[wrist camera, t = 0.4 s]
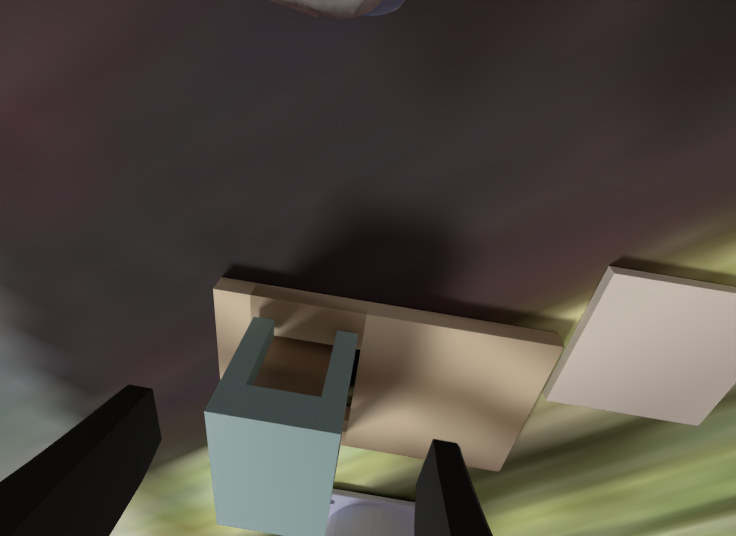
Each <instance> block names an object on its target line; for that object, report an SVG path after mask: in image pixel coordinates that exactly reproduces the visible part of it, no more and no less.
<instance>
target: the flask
mask: <svg viewBox="0 0 736 536" xmlns="http://www.w3.org/2000/svg"><path fill="white" fill-rule="evenodd" d="M270 1H273V2H276V3H278V4H281V5H284V6H287V7H289V8H292V9H295V10H298V11H300V12H303V13H306V14H308V15H311V16H313V17H316V16H321V15H322V16H326V17H331V18H335V19H344V18H354V17H357V16H362V15H369V16H377V15H383V14H387V13H390V12H393V11H395V10H397V9H398V8H400V6H401V5H402V4H403V3H404V2H405V0H270Z"/></svg>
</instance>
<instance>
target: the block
mask: <svg viewBox="0 0 736 536" xmlns="http://www.w3.org/2000/svg"><path fill="white" fill-rule="evenodd" d="M333 346H334V345H329V344H323V343H317V342H311V341H305V340H299V339H293V338H287V337H281V336H275V335H274V338H273V340H272V342H271V345H270V347H269V349H268V352H267V354H266V356H265V359H264V361H263V363H262V366H261V368H260V370H259V373H258V375H257V377H256V380H255V382H254V384H253V386H258V387H264V388H270V389H276V390H282V391H288V392H294V393H300V394H306V395H311V396H317V397H321V396H322V392H323V388H324V384H325V380H326V375H327V371H328V367H329V363H330V359H331V354H332V350H333Z"/></svg>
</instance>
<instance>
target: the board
mask: <svg viewBox="0 0 736 536" xmlns="http://www.w3.org/2000/svg"><path fill="white" fill-rule="evenodd" d="M213 293H214V305H215V318H216V331H217V344H218V357H219V369H220V380H221V378H222V376H223V374H224V373H225V371H226V369H227V367H228V365H229V363H230V361H231V359H232V357H233V355H234V353H235V351H236V349H237V348H238V346H239V344H240V342H241V340H242V338H243V336H244V334H245V332H246V330H247V328H248V326H249V325H250V323H251V321H252V319H253V317H260V318H266V319H272V320H275V321H274V335H275V336H281V337H287V338H293V339H299V340H305V341H311V342H317V343H323V344H329V345H334V342H335V338H336V334H337V330H338V331H344V332H350V333H356V334H358V338H357V344H356V349H359V350H360V356H359V362H358V368H357V374H356V380H355V386H354V392H353V397H352V403H351V407H348V406H346V409H345V414H344V420H343V427H342V428H343V431H342V437H341V443H340V445H344V446H350V447H356V448H361V449H367V450H373V451H379V452H385V453H391V454H397V455H403V456H409V457H415V458H421V459H426V456H427V454H428V451H429V448H430V446H431V443H432V440H433V439H437V440H443V441H449V442H454V443H457V444H458V445H459V446H460V449H461V452H462V455H463V458H464V461H465V464H466V466H468V467H474V468H480V469H486V470H492V471H498V472H499V471H500V469H501V467H502V465H503V463H504V462H505V460H506V458H507V456H508V454H509V452H510V450H511V448H512V446H513V444H514V442H515V440H516V439H517V437H518V435H519V433H520V431H521V429H522V427H523V425H524V423H525V421H526V419H527V417H528V416H529V414H530V412H531V410H532V408H533V406H534V404H535V402H536V400H537V398H538V396H539V394H540V393H541V391H542V389H543V387H544V385H545V383H546V381H547V379H548V377H549V375H550V373H551V371H552V370H553V368H554V366H555V364H556V362H557V360H558V358H559V356H560V354H561V352H562V350H563V348H564V346H563V343H562V341H561V339H560V337H559V334H558V333H555V332H549V331H543V330H537V329H531V328H525V327H519V326H513V325H507V324H501V323H495V322H489V321H483V320H477V319H471V318H465V317H458V316H452V315H446V314H440V313H434V312H428V311H422V310H416V309H410V308H404V307H398V306H392V305H386V304H380V303H374V302H368V301H362V300H356V299H350V298H344V297H338V296H332V295H326V294H320V293H314V292H308V291H302V290H296V289H290V288H284V287H278V286H272V285H266V284H260V283H254V282H248V281H242V280H236V279H230V278H224V277H221V279H220V280H219V281H218V283H217V284H216V286H215V287H214V288H213Z"/></svg>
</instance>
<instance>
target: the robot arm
mask: <svg viewBox="0 0 736 536" xmlns="http://www.w3.org/2000/svg"><path fill="white" fill-rule="evenodd" d="M160 442H161V433H160V428H159V422H158V417H157V411H156V406H155V400H154V395H153V389H151V388H145V387H140V386H134V385H127V386H126V387H124V388H123V389H122V390H121V391H119V392H118V393H117V394H115V395H114V396H113V397H112V398H110V399H109V400H108V401H107V402H105V403H104V404H103V405H102V406H100V407H99V408H98V409H97V410H95V411H94V412H93V413H92V414H90V415H89V416H88V417H87V418H85V419H84V420H83V421H81V422H80V423H79V424H78V425H76V426H75V427H74V428H73V429H71V430H70V431H69V432H67V433H66V434H65V435H63V436H62V437H61V438H59V439H58V440H57V441H55V442H54V443H53V444H52V445H50V446H49V447H48V448H46V449H45V450H44V451H42V452H41V453H40V454H38V455H37V456H36V457H34V458H33V459H32V460H30V461H29V462H28V463H26V464H25V465H23V466H22V467H21V468H19V469H18V470H16V471H15V472H14V473H12V474H11V475H9V476H8V477H6V478H5V479H4V480H2V481H1V482H0V536H109V535H110V534H111V532H112V530H113V529H114V527H115V525H116V524H117V522H118V520H119V519H120V517H121V515H122V514H123V512H124V511H125V509H126V507H127V506H128V504H129V502H130V501H131V499H132V497H133V496H134V494H135V492H136V491H137V489H138V487H139V485H140V484H141V482H142V480H143V478H144V476H145V474H146V472H147V470H148V468H149V466H150V464H151V462H152V459H153V457H154V455H155V453H156V451H157V448H158V446H159V444H160ZM325 536H493V535H492V533H491V530H490V528H489V526H488V523H487V521H486V518H485V516H484V513H483V511H482V508H481V506H480V503H479V501H478V498H477V495H476V493H475V490H474V487H473V485H472V482H471V479H470V476H469V473H468V470H467V468H466V464H465V461H464V458H463V455H462V452H461V449H460V446H459V445H458V444H457V443H454V442H449V441H443V440H437V439H433V440H432V443H431V446H430V448H429V451H428V454H427V456H426V459H425V462H424V465H423V467H422V470H421V473H420V475H419V478H418V481H417V484H416V496H415V502H410V501H404V500H398V499H392V498H386V497H380V496H374V495H368V494H362V493H357V492H351V491H345V490H339V489H333V490H332V496H331V502H330V508H329V514H328V520H327V526H326V532H325Z"/></svg>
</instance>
